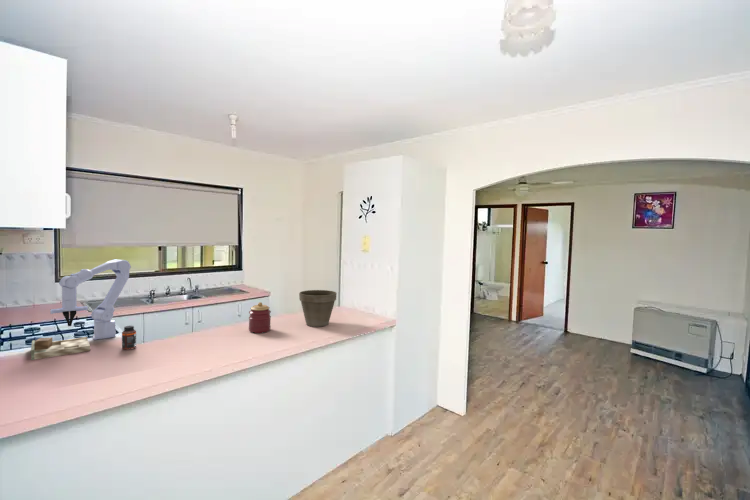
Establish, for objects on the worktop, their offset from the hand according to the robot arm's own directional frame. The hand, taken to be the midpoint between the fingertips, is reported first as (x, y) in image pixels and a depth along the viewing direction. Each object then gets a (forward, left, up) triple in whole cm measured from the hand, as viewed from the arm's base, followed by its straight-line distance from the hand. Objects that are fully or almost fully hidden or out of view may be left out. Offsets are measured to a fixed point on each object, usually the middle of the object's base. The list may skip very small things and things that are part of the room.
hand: (69, 325), depth 183 cm
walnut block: (+10, +6, -8) cm, 14 cm away
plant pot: (-125, +40, -10) cm, 132 cm away
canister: (-88, +32, -10) cm, 94 cm away
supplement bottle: (-22, +24, -10) cm, 34 cm away
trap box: (+3, +8, -10) cm, 13 cm away
